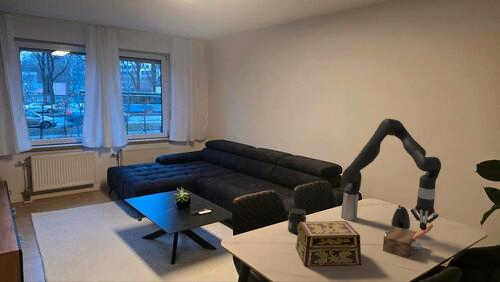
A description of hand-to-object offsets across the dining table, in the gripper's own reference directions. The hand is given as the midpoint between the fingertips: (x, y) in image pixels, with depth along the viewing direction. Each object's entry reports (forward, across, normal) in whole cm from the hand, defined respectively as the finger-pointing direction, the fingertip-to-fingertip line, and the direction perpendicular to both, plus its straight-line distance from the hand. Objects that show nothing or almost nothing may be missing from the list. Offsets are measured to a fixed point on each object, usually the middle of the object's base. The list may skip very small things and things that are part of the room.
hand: (422, 229), depth 161 cm
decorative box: (+14, -36, -33) cm, 51 cm away
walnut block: (+13, -10, 0) cm, 16 cm away
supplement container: (+14, -63, -16) cm, 66 cm away
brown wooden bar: (+13, -9, 0) cm, 15 cm away
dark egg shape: (+13, -15, +24) cm, 31 cm away
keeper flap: (+6, -4, 0) cm, 7 cm away
